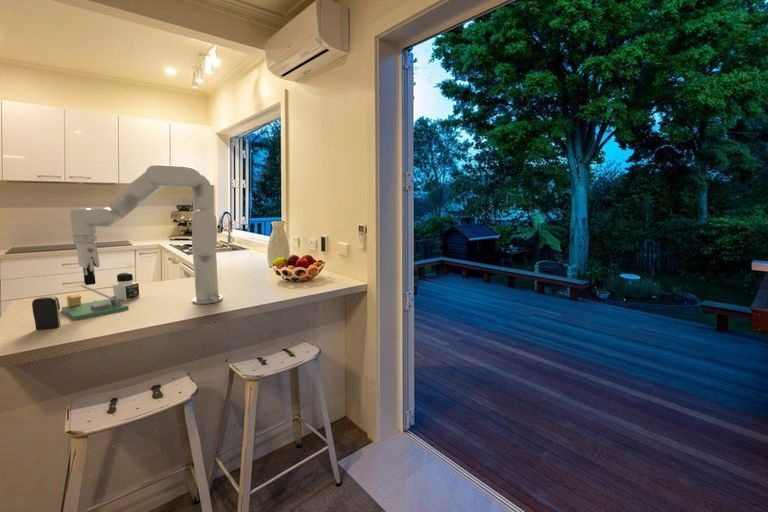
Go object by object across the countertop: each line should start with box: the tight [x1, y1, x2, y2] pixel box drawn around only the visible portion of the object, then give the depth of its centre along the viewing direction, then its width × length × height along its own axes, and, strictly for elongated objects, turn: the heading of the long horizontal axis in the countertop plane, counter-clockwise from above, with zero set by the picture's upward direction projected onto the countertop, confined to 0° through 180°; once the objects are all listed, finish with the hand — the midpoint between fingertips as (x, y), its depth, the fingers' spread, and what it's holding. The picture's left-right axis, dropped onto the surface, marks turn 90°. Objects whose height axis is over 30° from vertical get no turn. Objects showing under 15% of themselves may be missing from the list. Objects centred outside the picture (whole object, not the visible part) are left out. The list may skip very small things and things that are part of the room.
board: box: [60, 295, 129, 321], centre depth 156 cm, size 19×18×5 cm
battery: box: [31, 296, 61, 330], centre depth 135 cm, size 7×4×11 cm, turn 112°
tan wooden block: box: [65, 293, 82, 307], centre depth 155 cm, size 6×4×4 cm, turn 52°
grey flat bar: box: [80, 284, 116, 302], centre depth 154 cm, size 3×14×1 cm
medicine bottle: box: [112, 272, 140, 302], centre depth 173 cm, size 7×7×12 cm
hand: (90, 284), depth 151 cm, fingers closed
